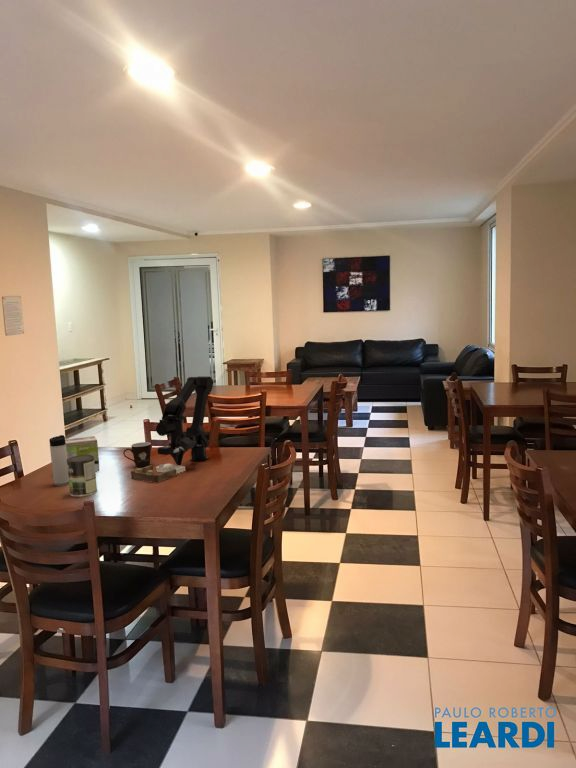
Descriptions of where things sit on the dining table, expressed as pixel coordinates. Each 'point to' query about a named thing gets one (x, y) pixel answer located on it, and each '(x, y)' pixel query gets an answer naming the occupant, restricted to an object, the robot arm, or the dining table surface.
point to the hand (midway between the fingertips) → (178, 466)
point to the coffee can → (82, 475)
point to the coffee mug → (140, 454)
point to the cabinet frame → (151, 474)
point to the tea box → (83, 448)
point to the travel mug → (59, 460)
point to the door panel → (170, 468)
